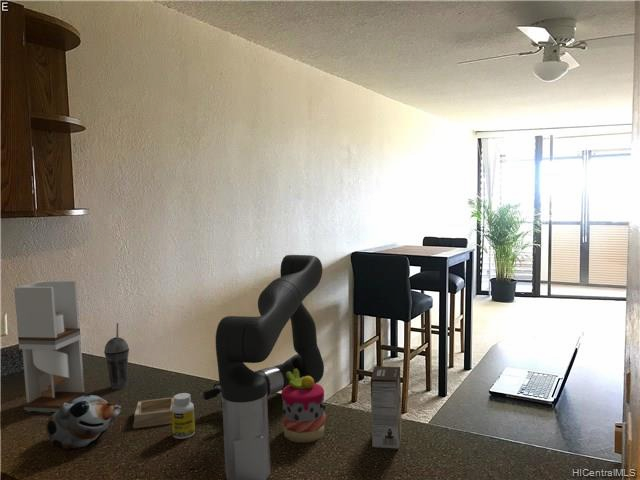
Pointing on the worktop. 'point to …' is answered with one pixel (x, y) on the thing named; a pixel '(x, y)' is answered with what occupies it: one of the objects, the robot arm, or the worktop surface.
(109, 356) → the beverage cup
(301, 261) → the robot arm
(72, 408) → the lucky cat figurine
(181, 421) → the supplement bottle
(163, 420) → the birch dock
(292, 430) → the cake
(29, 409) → the white shelf stand
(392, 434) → the coffee box
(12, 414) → the worktop surface
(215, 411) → the worktop surface
